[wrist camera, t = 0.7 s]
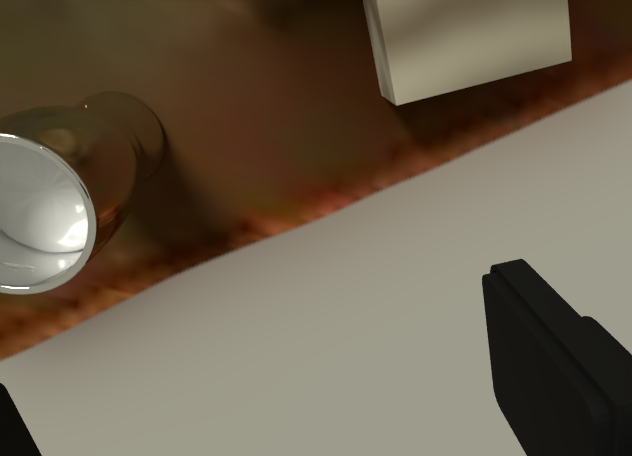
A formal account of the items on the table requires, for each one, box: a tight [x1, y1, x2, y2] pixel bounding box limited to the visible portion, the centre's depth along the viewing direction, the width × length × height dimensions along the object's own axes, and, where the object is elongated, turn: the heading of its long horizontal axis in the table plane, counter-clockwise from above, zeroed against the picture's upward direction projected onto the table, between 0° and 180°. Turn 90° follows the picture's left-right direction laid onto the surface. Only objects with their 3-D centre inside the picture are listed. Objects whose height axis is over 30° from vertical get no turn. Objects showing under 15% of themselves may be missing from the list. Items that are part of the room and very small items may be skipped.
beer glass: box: [0, 92, 164, 294], centre depth 28 cm, size 7×7×15 cm
